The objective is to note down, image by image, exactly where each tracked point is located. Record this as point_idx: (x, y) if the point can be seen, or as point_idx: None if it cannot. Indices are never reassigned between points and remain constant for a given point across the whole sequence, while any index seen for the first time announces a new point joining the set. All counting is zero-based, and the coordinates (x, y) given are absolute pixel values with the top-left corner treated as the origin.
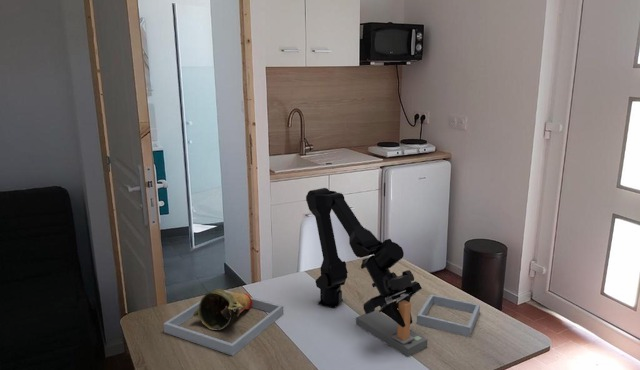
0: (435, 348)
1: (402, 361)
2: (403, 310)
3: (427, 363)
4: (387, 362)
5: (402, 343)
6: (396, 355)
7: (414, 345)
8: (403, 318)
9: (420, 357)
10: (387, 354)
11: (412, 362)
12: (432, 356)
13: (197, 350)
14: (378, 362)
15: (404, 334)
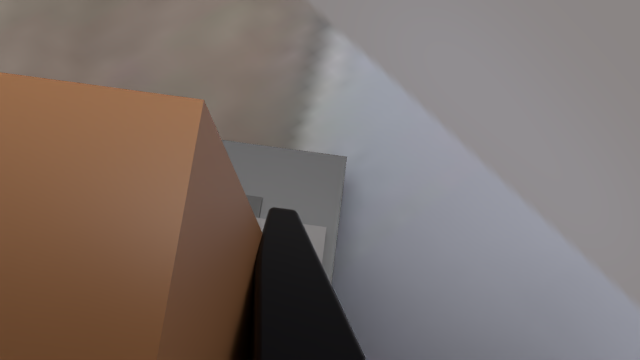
0: (31, 74)
1: (430, 174)
2: (224, 240)
3: (292, 6)
4: (547, 263)
5: (322, 249)
6: (395, 272)
7: (240, 143)
8: (249, 256)
9: (259, 94)
10: (448, 347)
11: (375, 102)
12: (169, 29)
13: None
14: (614, 325)
15: None
